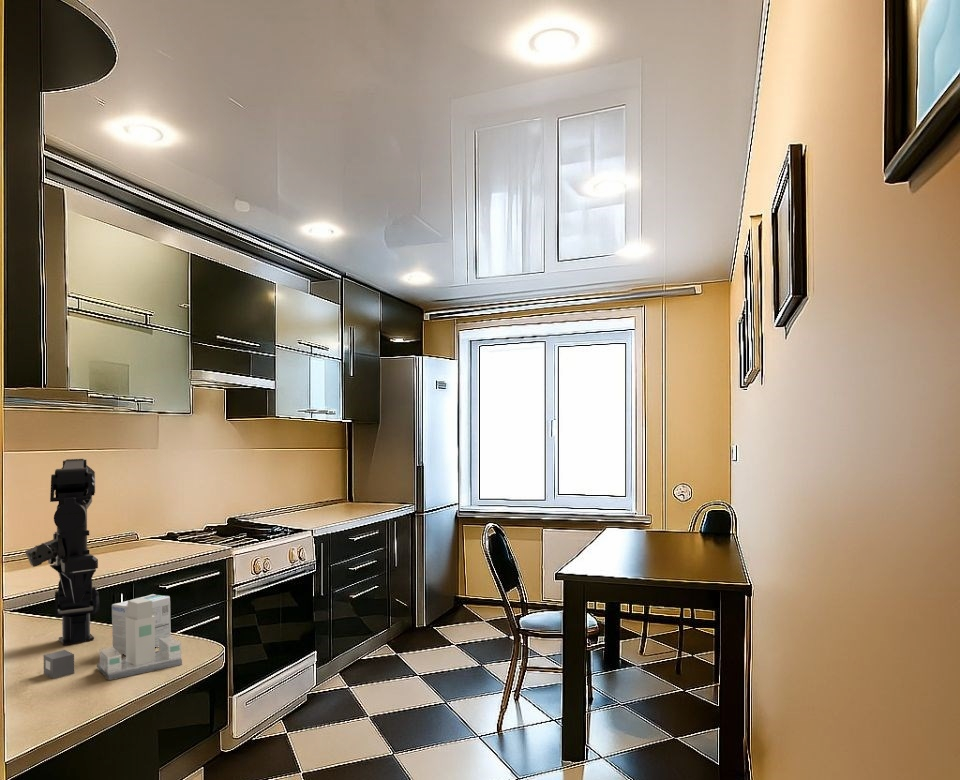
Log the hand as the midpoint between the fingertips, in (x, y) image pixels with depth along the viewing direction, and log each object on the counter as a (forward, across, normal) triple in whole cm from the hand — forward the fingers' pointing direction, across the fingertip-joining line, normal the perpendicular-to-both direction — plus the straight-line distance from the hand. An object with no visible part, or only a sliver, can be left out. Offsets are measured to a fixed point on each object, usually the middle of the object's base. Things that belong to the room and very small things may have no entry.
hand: (72, 600), depth 160 cm
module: (+12, +15, +10) cm, 21 cm away
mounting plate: (+13, +14, +10) cm, 21 cm away
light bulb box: (+13, 0, +14) cm, 19 cm away
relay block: (+13, +7, -4) cm, 15 cm away
